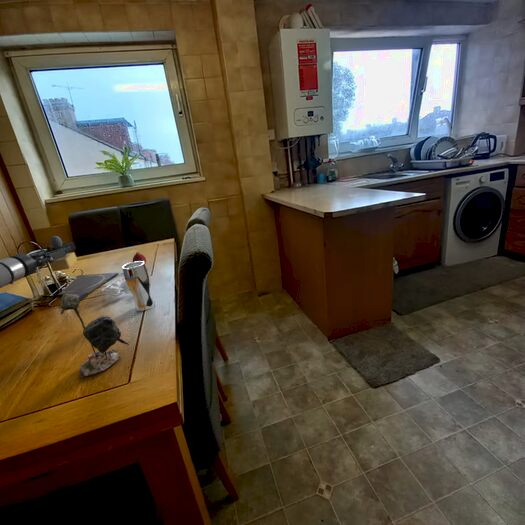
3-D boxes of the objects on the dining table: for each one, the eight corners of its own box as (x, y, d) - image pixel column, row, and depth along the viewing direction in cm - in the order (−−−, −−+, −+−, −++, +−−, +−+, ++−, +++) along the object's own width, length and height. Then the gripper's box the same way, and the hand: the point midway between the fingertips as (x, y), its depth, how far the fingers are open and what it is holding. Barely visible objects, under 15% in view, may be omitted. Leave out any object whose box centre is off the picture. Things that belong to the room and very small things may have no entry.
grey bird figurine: (131, 363, 65) (105, 287, 58) (76, 382, 61) (41, 302, 54) (131, 345, 72) (108, 275, 65) (82, 360, 68) (52, 287, 62)
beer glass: (131, 307, 93) (118, 266, 87) (151, 299, 97) (139, 259, 92) (139, 314, 88) (125, 270, 83) (160, 305, 92) (148, 263, 87)
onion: (142, 270, 127) (137, 254, 124) (132, 270, 129) (127, 254, 126) (150, 265, 132) (146, 249, 129) (141, 265, 134) (136, 249, 131)
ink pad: (61, 303, 103) (60, 299, 102) (71, 296, 107) (70, 293, 107) (78, 302, 102) (77, 298, 101) (87, 295, 107) (86, 292, 106)
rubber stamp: (61, 263, 112) (50, 234, 107) (77, 260, 113) (67, 232, 109) (52, 271, 103) (39, 240, 98) (69, 268, 104) (58, 237, 100)
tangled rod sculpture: (119, 282, 120) (115, 273, 118) (152, 274, 120) (149, 266, 119) (98, 302, 101) (93, 292, 100) (137, 293, 102) (133, 283, 100)
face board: (42, 297, 110) (41, 295, 110) (78, 276, 129) (78, 274, 128) (88, 294, 108) (87, 292, 107) (118, 274, 126) (117, 272, 126)
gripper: (-1, 280, 91) (56, 255, 113) (41, 277, 89) (91, 253, 111) (-11, 258, 89) (49, 238, 110) (32, 255, 86) (84, 235, 108)
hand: (70, 245), depth 111 cm, fingers closed on rubber stamp, 2 cm apart
